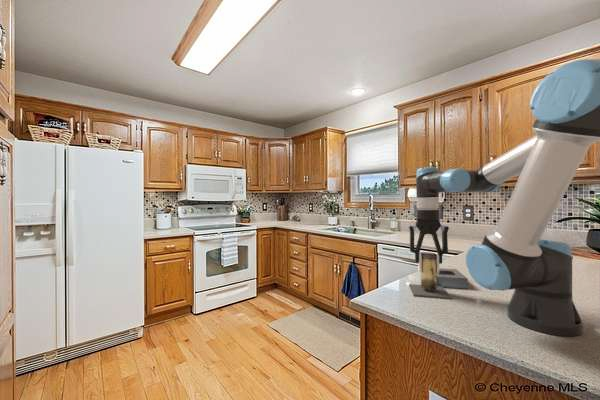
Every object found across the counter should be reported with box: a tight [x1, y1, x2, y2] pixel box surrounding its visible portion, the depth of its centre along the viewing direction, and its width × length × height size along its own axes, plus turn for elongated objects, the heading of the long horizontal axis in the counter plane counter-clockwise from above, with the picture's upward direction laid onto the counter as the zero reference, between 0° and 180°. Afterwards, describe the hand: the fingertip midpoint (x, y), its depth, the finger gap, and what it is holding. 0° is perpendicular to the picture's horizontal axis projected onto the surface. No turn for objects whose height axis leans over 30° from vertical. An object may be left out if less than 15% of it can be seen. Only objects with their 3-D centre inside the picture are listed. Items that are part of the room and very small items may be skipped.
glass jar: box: [420, 251, 437, 290], centre depth 97 cm, size 5×5×12 cm
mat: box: [408, 283, 452, 300], centre depth 97 cm, size 12×12×1 cm
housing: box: [436, 267, 469, 290], centre depth 108 cm, size 14×12×4 cm
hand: (428, 271), depth 97 cm, fingers closed on glass jar, 5 cm apart
